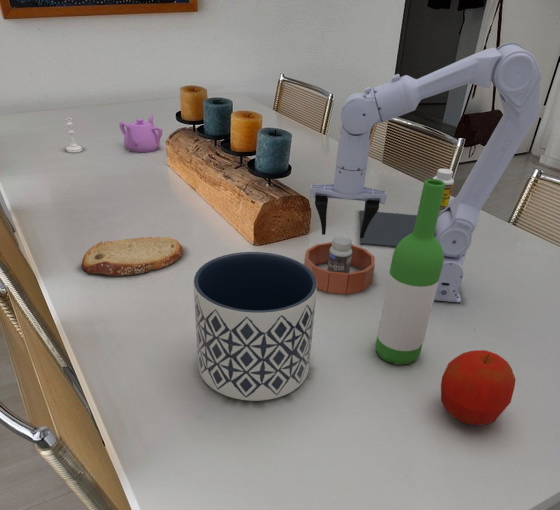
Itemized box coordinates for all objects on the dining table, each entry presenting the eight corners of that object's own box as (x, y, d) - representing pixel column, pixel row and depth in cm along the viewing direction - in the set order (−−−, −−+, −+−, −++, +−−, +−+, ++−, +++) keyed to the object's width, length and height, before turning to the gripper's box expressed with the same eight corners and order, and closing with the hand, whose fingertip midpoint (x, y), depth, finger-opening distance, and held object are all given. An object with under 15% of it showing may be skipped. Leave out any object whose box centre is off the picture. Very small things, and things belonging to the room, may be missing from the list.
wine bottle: (425, 350, 96) (469, 180, 77) (410, 372, 91) (454, 196, 72) (384, 335, 99) (417, 168, 80) (367, 357, 94) (399, 183, 75)
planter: (176, 364, 90) (167, 275, 79) (257, 324, 100) (259, 241, 90) (249, 421, 80) (251, 327, 70) (331, 370, 90) (342, 283, 80)
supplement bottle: (436, 214, 146) (445, 175, 139) (422, 206, 149) (430, 169, 143) (451, 210, 148) (460, 172, 142) (436, 203, 152) (444, 166, 145)
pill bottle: (322, 278, 115) (326, 241, 110) (331, 269, 118) (336, 233, 113) (343, 284, 113) (348, 247, 108) (352, 275, 117) (357, 238, 111)
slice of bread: (189, 249, 123) (188, 233, 120) (153, 286, 109) (151, 269, 107) (117, 236, 126) (114, 221, 124) (74, 271, 112) (70, 255, 110)
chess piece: (65, 148, 174) (58, 114, 168) (81, 147, 176) (75, 113, 170) (67, 153, 171) (60, 118, 165) (83, 151, 173) (77, 117, 166)
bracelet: (372, 297, 110) (375, 277, 107) (301, 290, 110) (302, 270, 108) (370, 264, 121) (373, 245, 118) (306, 258, 122) (307, 239, 119)
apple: (488, 392, 88) (511, 333, 80) (511, 437, 80) (538, 376, 72) (427, 392, 87) (443, 332, 80) (444, 437, 79) (464, 375, 72)
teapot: (128, 155, 172) (124, 125, 166) (120, 143, 182) (116, 114, 176) (165, 152, 176) (163, 123, 170) (155, 140, 186) (152, 112, 180)
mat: (445, 252, 128) (446, 250, 127) (360, 244, 129) (360, 242, 128) (435, 218, 143) (436, 217, 143) (359, 211, 144) (360, 210, 144)
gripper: (389, 162, 104) (378, 229, 112) (313, 156, 105) (308, 223, 113) (391, 174, 98) (379, 244, 107) (311, 167, 99) (305, 237, 108)
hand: (342, 234), depth 110 cm, fingers open, 7 cm apart
